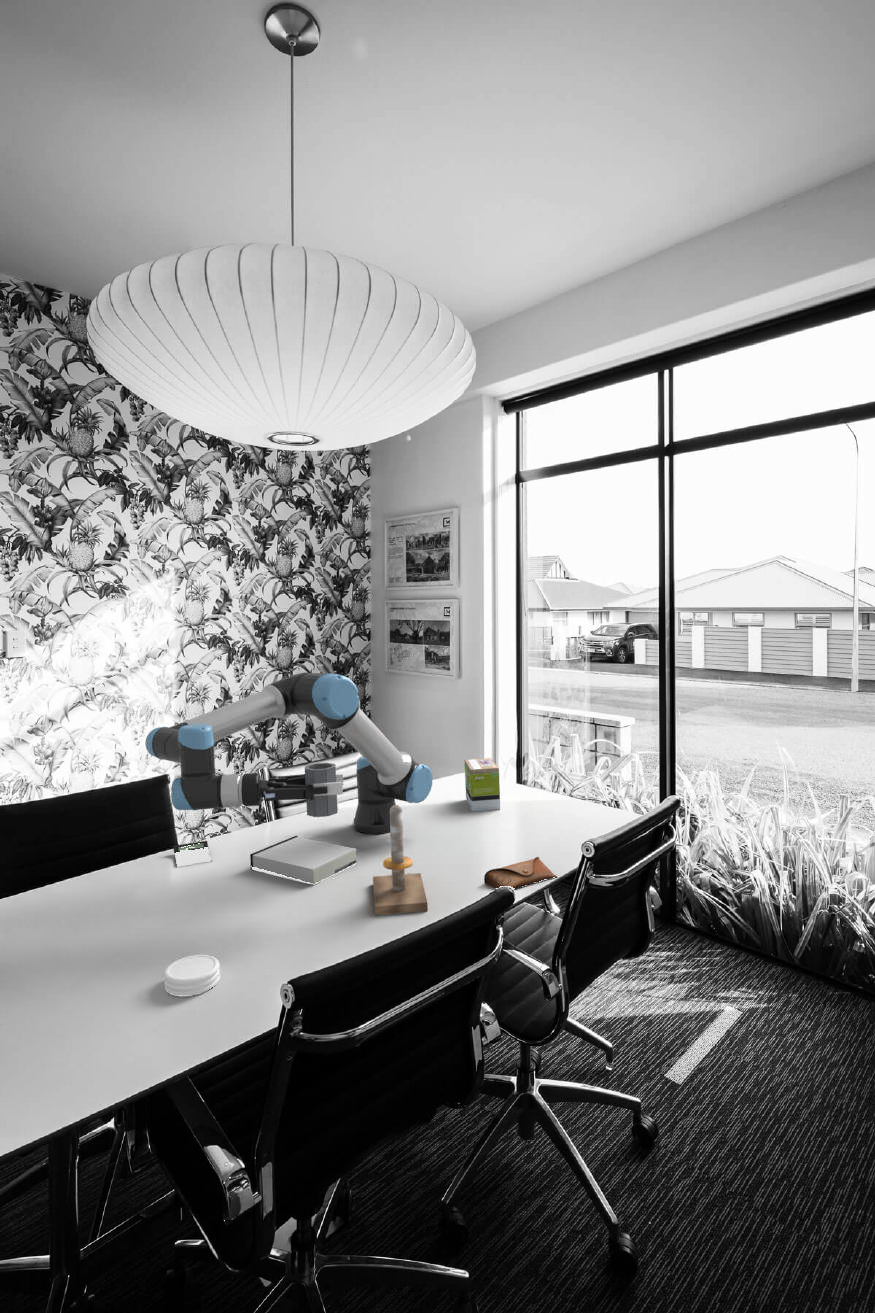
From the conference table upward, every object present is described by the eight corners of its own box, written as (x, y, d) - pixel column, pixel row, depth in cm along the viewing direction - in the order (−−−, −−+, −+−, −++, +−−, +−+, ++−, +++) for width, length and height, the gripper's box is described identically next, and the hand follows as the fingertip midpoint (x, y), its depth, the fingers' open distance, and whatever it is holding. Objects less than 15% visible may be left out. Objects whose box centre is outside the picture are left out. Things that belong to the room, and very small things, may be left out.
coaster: (181, 1005, 129) (180, 986, 128) (154, 986, 135) (153, 968, 135) (230, 982, 136) (229, 964, 136) (202, 965, 143) (201, 948, 142)
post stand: (375, 915, 163) (371, 818, 161) (373, 884, 181) (369, 796, 179) (427, 911, 164) (424, 814, 162) (420, 880, 182) (417, 793, 180)
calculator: (176, 868, 197) (176, 858, 197) (173, 855, 207) (173, 845, 207) (212, 862, 201) (211, 852, 200) (207, 850, 211) (207, 840, 211)
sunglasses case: (505, 894, 172) (495, 866, 174) (489, 900, 177) (480, 873, 180) (560, 876, 182) (550, 850, 184) (544, 883, 187) (535, 858, 189)
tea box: (465, 799, 255) (463, 758, 254) (492, 798, 256) (491, 757, 255) (471, 812, 240) (470, 768, 239) (501, 810, 241) (500, 766, 240)
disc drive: (296, 852, 208) (295, 835, 207) (357, 865, 196) (356, 847, 195) (250, 872, 193) (249, 854, 192) (313, 888, 181) (312, 868, 180)
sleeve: (306, 817, 165) (303, 770, 164) (308, 809, 172) (306, 763, 171) (337, 815, 165) (334, 768, 164) (337, 807, 172) (335, 762, 171)
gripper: (250, 794, 176) (344, 788, 179) (236, 819, 156) (342, 811, 159) (248, 764, 176) (342, 758, 178) (234, 785, 156) (341, 778, 158)
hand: (342, 783), depth 169 cm, fingers closed on sleeve, 7 cm apart
